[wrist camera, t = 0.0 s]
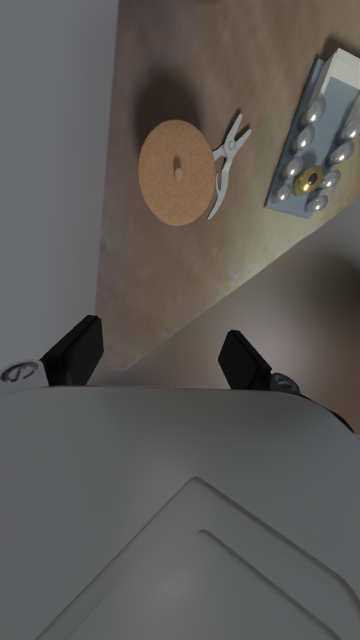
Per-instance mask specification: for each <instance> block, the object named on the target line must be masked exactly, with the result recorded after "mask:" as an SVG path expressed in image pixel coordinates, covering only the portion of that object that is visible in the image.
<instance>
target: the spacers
mask: <svg viewBox="0 0 360 640" xmlns="http://www.w3.org/2000/svg"><path fill="white" fill-rule="evenodd" d="M325 110H326V99H325V98H324V97H319V98H318V99H317V100H316V101H315V102H313V103H312V104H311V105H310V106H309V107H308V108H307V109H306V110H305V111H304V112H303V113H302V114H301V115H300V117H299V118H298V121H297V129H298V131H299V132H300V133H299V134H298V135H296V136H295V137H294V138H293V139H292V140H291V141H290V144H289V147H288V151H289V153H290V155H295V154H297V153H298V152H300V151H301V150H303V149H304V148H306V147H307V146H309V145H310V144H311V143H312V141H313V140H314V137H315V128H314V126H312V125H313V124H314V123H315V122H317V121H318V120H319V119H320V118H321V117H322V116H323V114H324V113H325ZM359 135H360V117H358V118H357V119H355V120H354V121H352V122H351V123H349V124H348V125H346V126H345V127H343V128H342V129H340V130H339V131H338V133H337V135H336V137H335V145H336V146H338V148H336V149H334V150H333V151H331V152H330V153H329V154H328V155H327V157H326V159H325V166H326V167H327V168H330V167H332V166H334V165H337V164H339V163H341V162H343V161H345V160H347V159H349V158H350V156H351V155H352V153H353V151H354V147H355V145H354V142H353V141H351V140H352V139H354V138H356V137H358V136H359ZM339 146H340V147H339ZM302 167H303V159H302V158H301V157H299V156H298V157H296V158H294V159H293V160H291V161H290V162H288V163H287V164H285V165H284V166H282V168H281V169H280V172H279V178H280V180H281V181H285V180H287V179H289V178H291V177H293V176H295V175H297V174H298V173H299V172H300V171H301V169H302ZM340 175H341V174H340V171H339V170H334V171H332V172H330V173H327V174H325V175H323V177H322V180H321V182H320V184H319V186H318V187H317V188H316V189H315V191H317V192H318V191H321V190H324V189H327V188H330V187H333V186H335V185H336V184H337V183H338V181H339V179H340ZM291 194H292V186H291V185H290V184H286V185H284V186H282V187H280V188H278V189H276V190H274V191H273V192H272V194H271V198H270V200H271V202H272V203H273V204H276V203H279V202H282V201H285V200H287V199H288V198H289V197H290V196H291ZM327 203H328V197H327V196H326V195H323V196H320V197H316V198H313V199H310V200H308V201H307V202H306V204H305V206H304V211H305V212H306V213H310V212H315V211H319V210H322V209H324V208H325V206H326V205H327Z"/></svg>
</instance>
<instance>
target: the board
mask: <svg viewBox="0 0 360 640" xmlns="http://www.w3.org/2000/svg"><path fill="white" fill-rule="evenodd" d="M319 97H324V98H325V99H326V110H325V113H324V114H323V116H322V117H321V118H320V119H319V120H318V121H317V122H315V123H314V124H313V125H312V126H314V128H315V137H314V140H313V141H312V143H311V144H310V145H309V146H307V147H306V148H304V149H303V150H301V151H300V152H298V153H297V154H295V155H290V153H289V151H288V147H289V144H290V141H291V140H292V139H293V138H294V137H295V136H296V135H298V134H299V133H300V132H299V131H298V129H297V121H298V118H299V117H300V115H301V114H302V113H303V112H304V111H305V110H306V109H307V108H308V107H309V106H310V105H311V104H312V103H313V102H315V101H316V100H317V99H318V98H319ZM358 117H360V59H359V58H357V57H355V56H353V55H351V54H350V53H348V52H346V51H344V50H342V49H340V48H338V49H337V50H336V51H335V52H334V54H333V55H332V56H331V57H330V58H329V59H328V60H327V61H326V62H325V61H323V60H321V59H318V60H317V61H316V62H315V63H314V65H313V67H312V70H311V73H310V76H309V78H308V81H307V84H306V87H305V90H304V93H303V96H302V99H301V101H300V104H299V107H298V110H297V113H296V116H295V119H294V122H293V124H292V127H291V130H290V133H289V136H288V139H287V142H286V144H285V147H284V150H283V153H282V156H281V159H280V162H279V165H278V167H277V170H276V173H275V176H274V179H273V182H272V185H271V187H270V190H269V193H268V196H267V199H266V202H265V205H264V207H265V208H269V209H273V210H277V211H280V212H284V213H288V214H292V215H295V216H299V217H303V218H310V217H311V215H312V213H313V212H310V213H306V212H305V211H304V206H305V204H306V202H307V201H308V200H310V199H313V198H316V197H320V196H321V194H322V192H323V190H321V191H318V192H317V191H315V190H313V191H311V192H309V193H306V194H303V195H300V196H294V195H293V194H291V196H290V197H289V198H288V199H287V200H285V201H282V202H279V203H276V204H273V203H272V202H271V200H270V198H271V194H272V192H273V191H274V190H276V189H278V188H280V187H282V186H284V185H286V184H290V185H291V186H292V182H293V180H294V178H295V177H296V176H297V175H298V174H299V173H301V172H303V171H305V170H307V169H309V168H311V167H313V166H315V165H318V166H320V167H321V168H322V170H323V175H325V174H327V173H330V172H332V171H333V169H334V167H335V165H334V166H332V167H330V168H327V167H326V166H325V159H326V157H327V155H328V154H329V153H330V152H331V151H333V150H334V149H336V148H338V146H336V145H335V137H336V135H337V133H338V131H339V130H340V129H342V128H343V127H345V126H346V125H348V124H349V123H351V122H352V121H354V120H355V119H357V118H358ZM339 147H340V146H339ZM298 156H299V157H301V158H302V159H303V167H302V169H301V171H300V172H299V173H298V174H297V175H295V176H293V177H291V178H289V179H287V180H285V181H281V180H280V178H279V172H280V169H281V168H282V166H284V165H285V164H287V163H288V162H290V161H291V160H293V159H294V158H296V157H298Z"/></svg>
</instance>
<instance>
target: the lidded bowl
mask: <svg viewBox="0 0 360 640" xmlns="http://www.w3.org/2000/svg"><path fill="white" fill-rule="evenodd" d="M138 179H139V185H140V189H141V192H142V195H143V198H144V200H145V202H146V204H147V206H148V207H149V209H150V210H151V211H152V212H153V214H154V215H155V216H156V217H157V218H158V219H159V220H161V221H162V222H164V223H166V224H168V225H172V226H181V225H186V224H189V223H191V222H193V221H194V220H196V219H197V218H198V217H200V216H201V214H202V213H203V212H204V211H205V210H206V208H207V207H208V205H209V203H210V201H211V198H212V195H213V192H214V188H215V181H216V168H215V160H214V157H213V153H212V150H211V148H210V145H209V143H208V141H207V140H206V138H205V137H204V135H203V134H202V133H201V131H199V130H198V129H197V128H196V127H195V126H194V125H192V124H190V123H189V122H186V121H183V120H176V119H174V120H168V121H165V122H162V123H161V124H159V125H158V126H156V127H155V128H154V129H153V130H152V131H151V132H150V133H149V135H148V136H147V138H146V139H145V141H144V144H143V146H142V149H141V152H140V156H139V162H138Z"/></svg>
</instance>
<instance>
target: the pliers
mask: <svg viewBox="0 0 360 640" xmlns="http://www.w3.org/2000/svg"><path fill="white" fill-rule="evenodd" d="M241 119H242V115H241V114H239V116H238V118H237V119H236V121H235V123H234V125H233V127H232V128H231V130H230V132H229V134H228V136H227V137H226V140H225V143H224V145H222V146H221V147H220V148H219V149H218V150H216V151H214V152H212V153H213V157H214V160H215V161H216V160H217V159H218V158H219V157H220V156H221V155H222V156H224V157H225V158H226V159H227V160H226V162H225V164H224V167H223V169H222V172H221V188H220V191H219V189H218V185H217V177H218V173H217V174H216V181H215V186H216V191H217V195H218V198H217V200H216V203H215V205H214V207H213V209H212V211H211V213H210V215H209V217H208V219H210V218H211V217H212V216H213V215H214V214H215V213H216V211H217V210H218V208H219V206H220V205H221V203H222V200H223V198H224V195H225V193H226V189H227V185H228V172H229V169H230V166H231V163H232V160H233V158H234V155H235V154H236V153H237V151H238V150H239V149H240V147H241V146H242V145H243V143H244V142H245V140H246V139H247V138H248V136H249V135H250V134H251V129H249V130H248V131H247V132H246V133H245V134H244V135H243V136H242V137H241V138H240V139H239V140H238V141H237V142H236V143H235V140H234V137H235V134H236V131H237V129H238V126H239V124H240V121H241Z"/></svg>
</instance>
